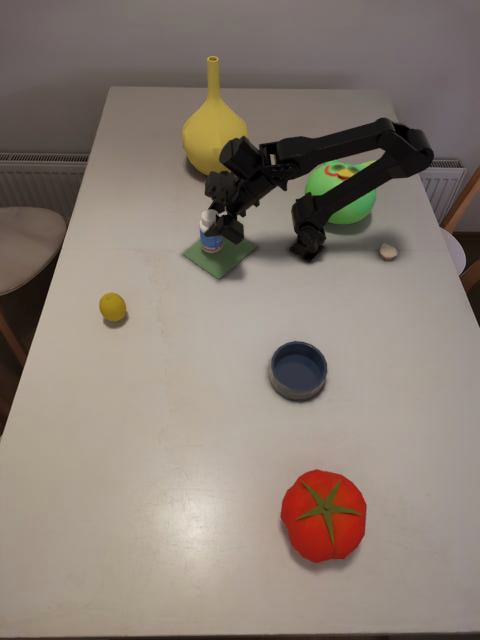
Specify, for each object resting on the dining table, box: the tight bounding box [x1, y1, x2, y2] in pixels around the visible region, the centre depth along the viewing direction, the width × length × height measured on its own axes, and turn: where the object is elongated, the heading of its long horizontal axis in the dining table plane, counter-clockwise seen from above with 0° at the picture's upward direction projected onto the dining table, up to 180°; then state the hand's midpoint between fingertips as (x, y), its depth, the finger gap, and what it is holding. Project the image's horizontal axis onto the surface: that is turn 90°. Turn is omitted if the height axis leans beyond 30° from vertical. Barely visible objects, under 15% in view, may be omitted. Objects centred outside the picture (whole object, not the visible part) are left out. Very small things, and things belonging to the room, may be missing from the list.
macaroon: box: [379, 243, 398, 261], centre depth 107 cm, size 4×5×2 cm
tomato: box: [279, 468, 368, 564], centre depth 70 cm, size 13×14×12 cm
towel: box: [182, 237, 257, 281], centre depth 108 cm, size 14×12×1 cm
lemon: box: [98, 292, 127, 322], centre depth 93 cm, size 6×6×8 cm
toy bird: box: [304, 159, 377, 225], centre depth 110 cm, size 18×17×15 cm
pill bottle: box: [198, 209, 223, 253], centre depth 102 cm, size 6×5×10 cm
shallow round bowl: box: [269, 340, 328, 401], centre depth 88 cm, size 11×11×4 cm
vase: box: [181, 55, 250, 176], centre depth 114 cm, size 18×18×30 cm
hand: (205, 226), depth 101 cm, fingers closed on pill bottle, 5 cm apart
